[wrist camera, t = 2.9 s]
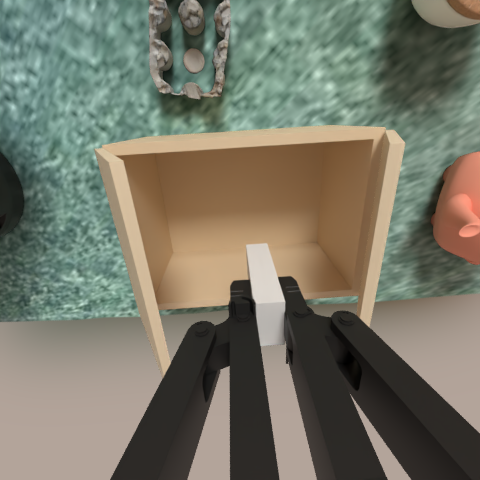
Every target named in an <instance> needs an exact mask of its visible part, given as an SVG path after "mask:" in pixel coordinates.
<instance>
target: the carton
mask: <svg viewBox="0 0 480 480" xmlns="http://www.w3.org/2000/svg"><path fill="white" fill-rule="evenodd" d="M385 129H386V127H364V126H339V125H325V126H309V127H294V128H278V129H262V130H246V131H230V132H215V133H199V134H183V135H167V136H151V137H143V138H138V139H132V140H127V141H122V142H117V143H112V144H107V145H102V147H103V149H105V150H107V151H108V152H110V153H111V154H113V155H115V156H116V157H118V158H120V159H121V160H123V162H124V166H125V170H126V174H127V179H128V183H129V187H130V191H131V196H132V200H133V204H134V208H135V213H136V217H137V221H138V225H139V230H140V234H141V238H142V242H143V247H144V251H145V255H146V259H147V264H148V268H149V272H150V276H151V281H152V285H153V289H154V293H155V298H156V302H157V306H158V310H167V309H181V308H194V307H208V306H222V305H228V304H229V301H230V285H231V284H232V282H233V281H234V280H248V275H247V256H246V245H248V244H263V243H267V244H268V248H269V251H270V254H271V257H272V261H273V264H274V267H275V270H276V273H277V277H284V276H292V277H293V278H294V279H295V280H296V281H297V283H298V286H299V288H300V291H301V293H302V295H303V297H304V299H317V298H331V297H345V296H358V295H359V290H360V284H361V277H362V271H363V265H364V259H365V253H366V246H367V240H368V234H369V228H370V222H371V215H372V209H373V203H374V197H375V191H376V184H377V178H378V172H379V166H380V160H381V153H382V147H383V141H384V135H385Z"/></svg>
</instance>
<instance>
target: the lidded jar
mask: <svg viewBox="0 0 480 480" xmlns="http://www.w3.org/2000/svg"><path fill="white" fill-rule="evenodd" d="M411 1H412V4H413V6H414V8H415V10H416V11H417V13H418V14H419V15H420V17H422V18H423V19H424V20H425V21H426V22H428V23H430V24H432V25H435V26H439V27H442V28H458V27H465V26H470V25H474V24H477V23H480V0H411Z"/></svg>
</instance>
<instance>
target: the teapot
mask: <svg viewBox="0 0 480 480" xmlns="http://www.w3.org/2000/svg"><path fill="white" fill-rule="evenodd" d="M443 180H444V182H445V183H444V185H443V188H442V190H441V193H440V196H439V199H438V203H437V207H436V212H435V213H434V214H433V216H432V217H431V224H432V225H433V236H434V238H435V240H436V241H437V243H438V244H439V246H440V247H442V248H443V249H445V250H446V251H448V252H450V253H452V254H455V255H457V256H459V257H462V258H464V259H466V260H467V261H468V262H469V263H471V264H475V265H478V264H480V151H479V152H474V153H469V154H466V155H463V156H460V157H459V158H457V160H456V161H455V162H454V164H453V165H451V166H449V167H448V168H447V169H446V170H445V172H444V174H443Z"/></svg>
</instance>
